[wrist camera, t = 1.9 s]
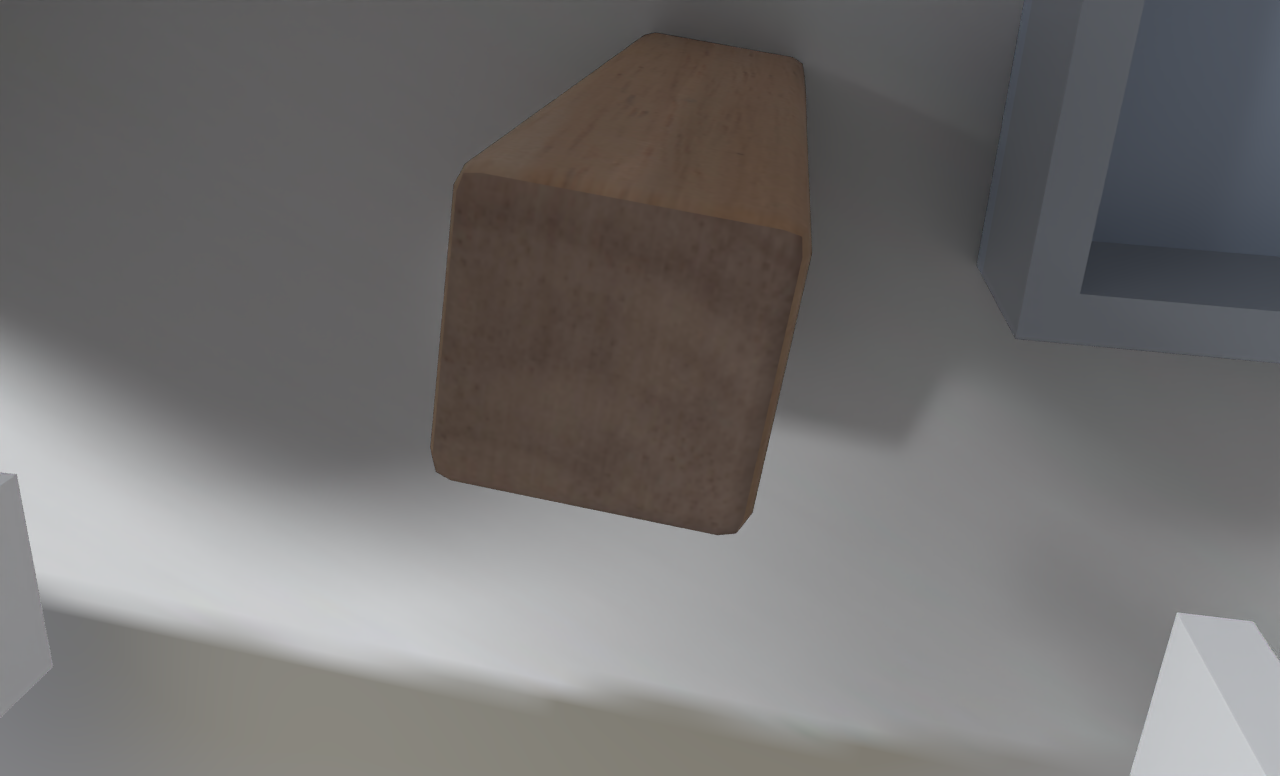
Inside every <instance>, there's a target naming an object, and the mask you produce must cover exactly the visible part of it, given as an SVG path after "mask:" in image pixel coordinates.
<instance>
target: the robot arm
mask: <svg viewBox="0 0 1280 776" xmlns="http://www.w3.org/2000/svg"><path fill="white" fill-rule="evenodd" d="M44 622H45V621H44V616H43V611H42V606H41V600H40V595H39V590H38V585H37V579H36V574H35V569H34V563H33V558H32V553H31V548H30V542H29V537H28V532H27V526H26V521H25V516H24V511H23V505H22V500H21V495H20V489H19V484H18V479H17V474H9V473H0V718H1V717H2V716H3V715H4V714H5V713H6V712H7V711H8V710H9V709H10V708H11V707H12V706H13V705H14V704H15V703H16V702H17V701H18V700H19V699H20V698H21V697H22V696H23V695H24V694H25V693H26V692H27V691H28V690H30V688H31V687H33V685H35V684H36V683H37V682H38V681H39V680H40V679H41V678H42V677H43V676H44V675H45V674H46V673H47V672H48V671H49V670H50V669H51V668H52V667H53V664H52V658H51V653H50V648H49V643H48V638H47V632H46V627H45V623H44ZM1130 776H1280V662H1279V660H1278V658H1277V657H1276V655H1275V654H1274V652H1273V651H1272V649H1271V648H1270V646H1269V645H1268V643H1267V642H1266V640H1265V638H1264V637H1263V635H1262V634H1261V632H1260V631H1259V629H1258V628H1257V626H1256V625H1255V623H1254V622H1253V621H1246V620H1238V619H1229V618H1221V617H1212V616H1204V615H1196V614H1187V613H1179V612H1177V614H1176V617H1175V621H1174V624H1173V628H1172V631H1171V635H1170V638H1169V642H1168V645H1167V648H1166V652H1165V655H1164V659H1163V662H1162V666H1161V669H1160V673H1159V676H1158V680H1157V683H1156V686H1155V690H1154V693H1153V697H1152V700H1151V704H1150V707H1149V711H1148V714H1147V717H1146V721H1145V724H1144V728H1143V731H1142V735H1141V738H1140V742H1139V745H1138V749H1137V752H1136V755H1135V759H1134V762H1133V766H1132V769H1131V773H1130Z"/></svg>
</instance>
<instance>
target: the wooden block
mask: <svg viewBox="0 0 1280 776" xmlns="http://www.w3.org/2000/svg"><path fill="white" fill-rule="evenodd" d="M811 255H812V240H811V217H810V193H809V169H808V145H807V115H806V89H805V75H804V70H803V64H802V63H801V62H799V61H798V60H796V59H795V58H793V57H788V56H783V55H777V54H772V53H766V52H761V51H755V50H749V49H744V48H738V47H733V46H727V45H721V44H716V43H710V42H705V41H699V40H693V39H688V38H682V37H677V36H671V35H666V34H660V33H652V34H648V35H644V36H642V37H641V38H640V39H638V40H637V41H635V42H634V43H633V44H631V45H630V46H628V47H627V48H626V49H624V50H623V51H621V52H620V53H619V54H617V55H616V56H614V57H613V58H612V59H610V60H609V61H608V62H606V63H605V64H603V65H602V66H601V67H599V68H598V69H596V70H595V71H594V72H592V73H591V74H590V75H588V76H587V77H585V78H584V79H583V80H581V81H580V82H578V83H577V84H576V85H574V86H573V87H571V88H570V89H569V90H567V91H566V92H564V93H563V94H562V95H560V96H559V97H557V98H556V99H555V100H553V101H552V102H551V103H549V104H548V105H546V106H545V107H544V108H542V109H541V110H539V111H538V112H537V113H535V114H534V115H532V116H531V117H530V118H528V119H527V120H525V121H524V122H523V123H521V124H520V125H518V126H517V127H516V128H514V129H513V130H511V131H510V132H509V133H507V134H506V135H505V136H503V137H502V138H500V139H499V140H498V141H496V142H495V143H493V144H492V145H491V146H489V147H488V148H486V149H485V150H484V151H482V152H481V153H479V154H478V155H477V156H475V157H474V158H472V159H471V160H470V161H468V162H467V163H465V165H464V167H463V168H462V170H461V172H460V174H459V176H458V178H457V179H456V181H455V183H454V186H453V197H452V209H451V220H450V231H449V243H448V254H447V265H446V276H445V288H444V299H443V310H442V321H441V333H440V344H439V355H438V367H437V378H436V389H435V400H434V412H433V423H432V434H431V445H430V448H431V453H432V458H433V462H434V466H435V470H436V472H437V473H439V474H441V475H443V476H444V477H446V478H448V479H450V480H452V481H457V482H462V483H467V484H472V485H476V486H481V487H486V488H491V489H496V490H501V491H506V492H510V493H515V494H520V495H525V496H530V497H535V498H540V499H544V500H549V501H554V502H559V503H564V504H569V505H574V506H578V507H583V508H588V509H593V510H598V511H603V512H608V513H613V514H617V515H622V516H627V517H632V518H637V519H642V520H647V521H651V522H656V523H661V524H666V525H671V526H676V527H681V528H685V529H690V530H695V531H700V532H705V533H710V534H715V535H725V534H735V533H737V532H738V530H739V529H740V528H741V527H742V525H743V524H744V523H745V522H746V520H747V519H748V518H749V516H750V515H751V514H752V513H753V508H754V504H755V500H756V495H757V491H758V486H759V482H760V478H761V473H762V469H763V465H764V460H765V456H766V451H767V447H768V443H769V438H770V434H771V430H772V425H773V421H774V417H775V412H776V408H777V403H778V399H779V395H780V390H781V386H782V382H783V377H784V373H785V369H786V364H787V360H788V355H789V351H790V347H791V342H792V338H793V334H794V329H795V325H796V320H797V316H798V312H799V307H800V303H801V299H802V294H803V290H804V286H805V281H806V277H807V272H808V268H809V264H810V259H811Z"/></svg>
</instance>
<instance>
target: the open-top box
mask: <svg viewBox="0 0 1280 776" xmlns="http://www.w3.org/2000/svg"><path fill="white" fill-rule="evenodd" d="M977 267H978V269H979V271H980V273H981V274H982V276H983V278H984V280H985V282H986V284H987V286H988V288H989V290H990V292H991V293H992V295H993V297H994V299H995V301H996V303H997V305H998V307H999V309H1000V311H1001V312H1002V314H1003V316H1004V318H1005V320H1006V322H1007V324H1008V326H1009V328H1010V330H1011V331H1012V333H1013V335H1014V337H1015V339H1022V340H1033V341H1044V342H1054V343H1065V344H1076V345H1087V346H1098V347H1108V348H1119V349H1130V350H1141V351H1152V352H1162V353H1173V354H1184V355H1195V356H1206V357H1217V358H1227V359H1238V360H1249V361H1260V362H1271V363H1280V0H1024V4H1023V10H1022V16H1021V21H1020V27H1019V32H1018V38H1017V43H1016V49H1015V54H1014V60H1013V66H1012V71H1011V77H1010V82H1009V88H1008V93H1007V99H1006V104H1005V110H1004V116H1003V121H1002V127H1001V132H1000V138H999V143H998V149H997V154H996V160H995V166H994V171H993V177H992V182H991V188H990V193H989V199H988V204H987V210H986V216H985V221H984V227H983V232H982V238H981V243H980V249H979V254H978V260H977Z"/></svg>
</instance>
